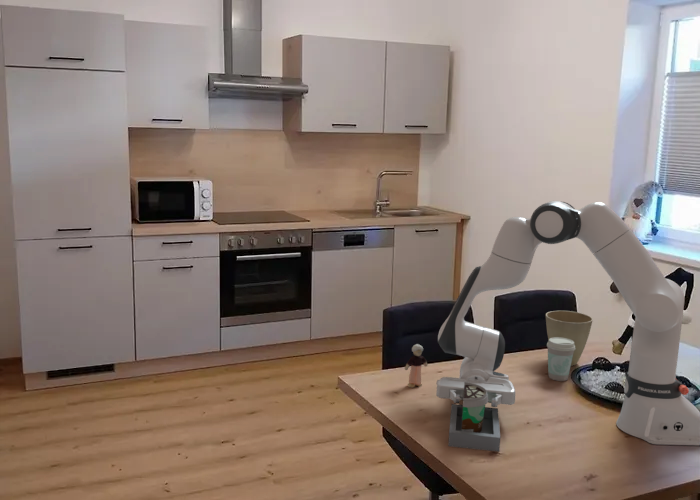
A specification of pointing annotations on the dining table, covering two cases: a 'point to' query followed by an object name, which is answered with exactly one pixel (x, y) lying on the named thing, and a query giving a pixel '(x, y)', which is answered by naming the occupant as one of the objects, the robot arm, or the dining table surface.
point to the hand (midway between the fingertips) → (475, 402)
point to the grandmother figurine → (415, 366)
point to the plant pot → (570, 329)
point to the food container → (473, 407)
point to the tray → (482, 440)
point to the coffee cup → (560, 358)
